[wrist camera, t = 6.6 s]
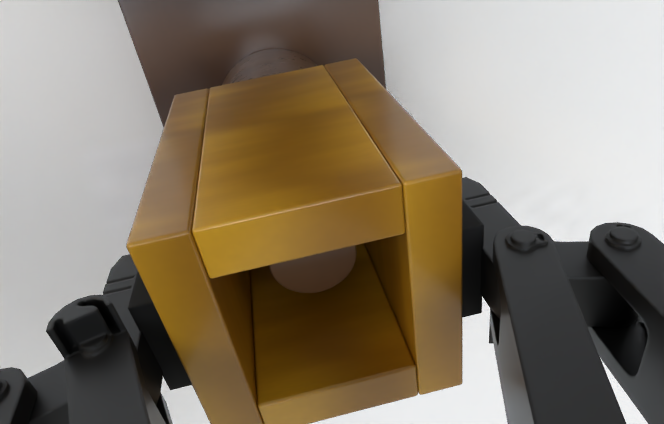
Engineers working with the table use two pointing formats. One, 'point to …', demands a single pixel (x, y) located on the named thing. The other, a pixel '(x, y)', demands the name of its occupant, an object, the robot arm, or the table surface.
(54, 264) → the table surface
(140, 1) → the peg stand
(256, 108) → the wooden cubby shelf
